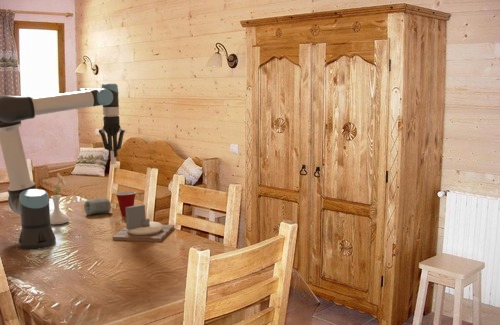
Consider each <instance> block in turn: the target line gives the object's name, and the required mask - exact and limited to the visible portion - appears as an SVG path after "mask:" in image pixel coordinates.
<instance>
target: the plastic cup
mask: <svg viewBox="0 0 500 325" xmlns="http://www.w3.org/2000/svg"><path fill="white" fill-rule="evenodd" d="M136 194H137V191H120V192H115V196H116V198H117V202H118V205H119V206H118V207H119V210H120V214H121V216H123V217H126V207H130V206H135V200H136Z"/></svg>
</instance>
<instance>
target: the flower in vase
mask: <svg viewBox="0 0 500 325" xmlns="http://www.w3.org/2000/svg"><path fill="white" fill-rule="evenodd" d="M56 176H57V179H58V180H59V181H58V183H57V185H56V188H55V189H54V190H53V192H52V193H53V194H55V195H51V196H50V198H51V199H52V201H53V208H54V209H53V211H52V213H50V225H61V224H65V223H67V222H69V221H70V217H69V216H68V215H67V214H66V213H64V212H62V211H61V210H60V200H61V197H62V195H60V194H57V193H61V188H60V187H58V186H59V184H61V185H62V186H63V187H67V186H68V185H67V184H68V183H67V182H66V179H65V178H64V177H63V175H61V173H60V172H57V173H56Z"/></svg>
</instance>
